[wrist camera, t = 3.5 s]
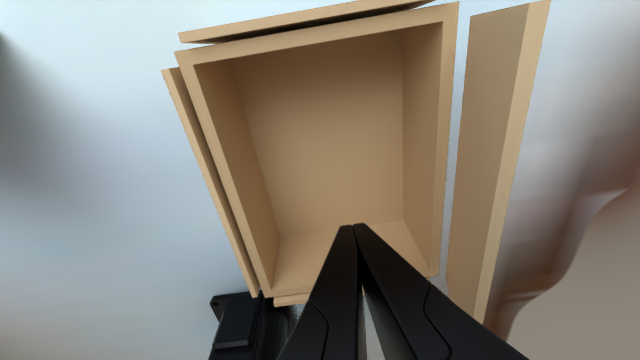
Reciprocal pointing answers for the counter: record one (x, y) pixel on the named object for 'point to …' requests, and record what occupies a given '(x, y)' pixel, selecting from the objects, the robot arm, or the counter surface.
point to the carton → (322, 132)
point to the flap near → (490, 143)
